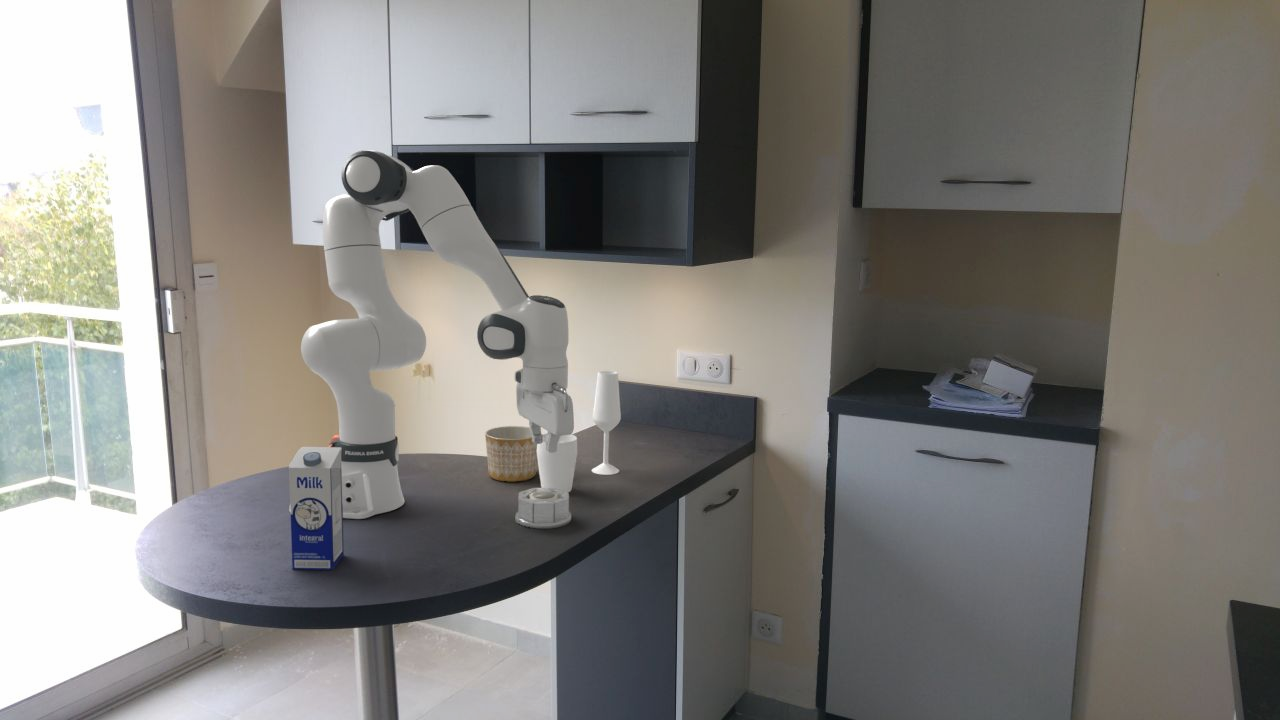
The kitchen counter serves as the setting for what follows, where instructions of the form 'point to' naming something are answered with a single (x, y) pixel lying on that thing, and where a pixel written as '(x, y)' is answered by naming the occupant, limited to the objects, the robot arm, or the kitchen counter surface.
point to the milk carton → (316, 508)
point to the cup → (557, 463)
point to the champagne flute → (606, 413)
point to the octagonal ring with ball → (543, 510)
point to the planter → (511, 453)
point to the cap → (543, 496)
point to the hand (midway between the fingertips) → (544, 447)
